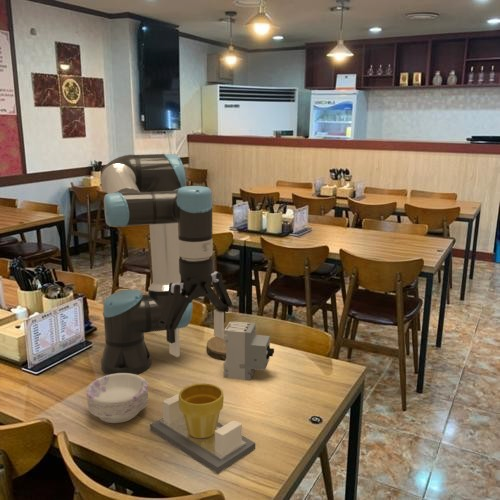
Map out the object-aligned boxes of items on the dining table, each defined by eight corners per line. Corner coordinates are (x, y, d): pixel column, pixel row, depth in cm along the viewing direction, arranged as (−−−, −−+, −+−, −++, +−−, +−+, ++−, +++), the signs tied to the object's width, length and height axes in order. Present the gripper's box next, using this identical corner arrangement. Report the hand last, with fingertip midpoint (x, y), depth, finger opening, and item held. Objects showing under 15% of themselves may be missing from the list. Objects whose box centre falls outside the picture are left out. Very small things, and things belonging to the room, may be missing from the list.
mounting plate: (150, 429, 126) (150, 424, 125) (187, 410, 134) (187, 405, 134) (217, 473, 110) (217, 467, 110) (255, 448, 118) (255, 442, 118)
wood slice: (197, 350, 171) (197, 342, 171) (234, 338, 182) (234, 330, 181) (226, 366, 160) (226, 357, 159) (264, 352, 170) (264, 344, 169)
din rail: (159, 422, 126) (159, 420, 126) (184, 409, 132) (184, 407, 132) (221, 461, 112) (221, 458, 112) (246, 444, 117) (246, 442, 117)
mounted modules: (163, 419, 126) (162, 401, 125) (182, 409, 131) (181, 392, 130) (222, 455, 113) (222, 435, 111) (241, 443, 117) (241, 424, 116)
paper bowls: (151, 424, 128) (150, 396, 126) (88, 434, 124) (85, 405, 122) (146, 395, 142) (144, 368, 140) (88, 403, 138) (86, 376, 136)
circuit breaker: (270, 382, 149) (271, 334, 146) (223, 377, 152) (223, 330, 149) (274, 370, 156) (275, 324, 153) (229, 366, 159) (229, 321, 156)
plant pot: (197, 414, 129) (197, 378, 127) (232, 426, 124) (231, 389, 121) (170, 434, 120) (169, 396, 118) (206, 448, 115) (205, 409, 113)
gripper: (161, 272, 102) (164, 369, 107) (246, 249, 120) (246, 334, 125) (138, 264, 107) (143, 357, 112) (224, 244, 125) (224, 325, 130)
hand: (197, 345), depth 119 cm, fingers open, 13 cm apart
